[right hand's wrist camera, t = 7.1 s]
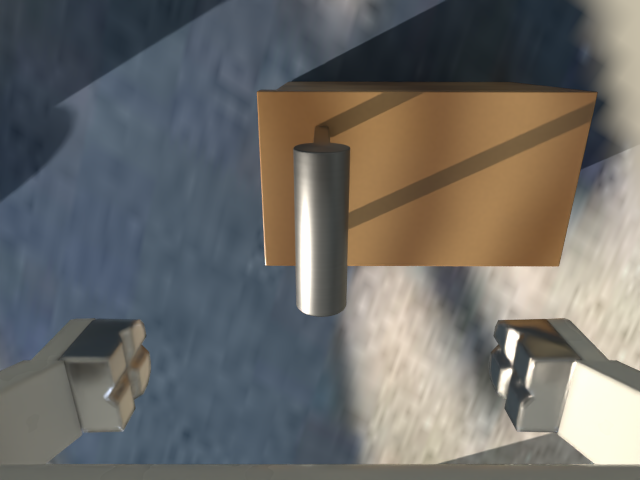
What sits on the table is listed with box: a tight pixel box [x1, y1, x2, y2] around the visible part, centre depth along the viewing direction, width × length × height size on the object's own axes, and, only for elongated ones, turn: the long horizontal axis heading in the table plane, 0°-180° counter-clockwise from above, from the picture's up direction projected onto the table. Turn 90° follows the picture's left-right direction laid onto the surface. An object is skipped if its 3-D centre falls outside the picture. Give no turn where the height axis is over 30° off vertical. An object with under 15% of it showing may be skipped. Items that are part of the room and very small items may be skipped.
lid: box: [257, 90, 597, 317], centre depth 20 cm, size 16×9×9 cm, turn 90°
